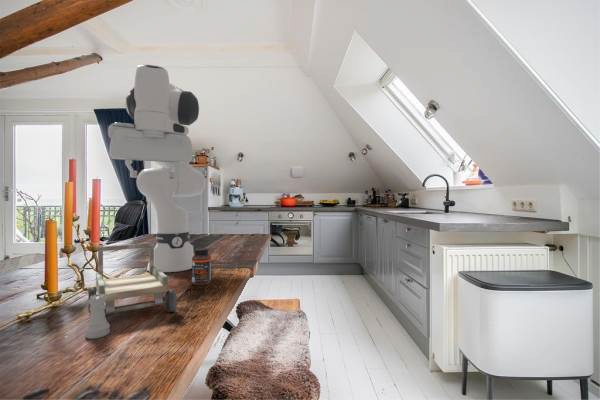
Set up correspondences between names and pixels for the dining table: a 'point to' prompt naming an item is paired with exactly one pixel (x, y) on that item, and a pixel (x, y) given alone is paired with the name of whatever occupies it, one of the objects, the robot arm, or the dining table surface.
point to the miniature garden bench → (133, 284)
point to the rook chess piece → (97, 318)
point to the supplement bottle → (201, 267)
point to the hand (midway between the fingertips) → (153, 178)
